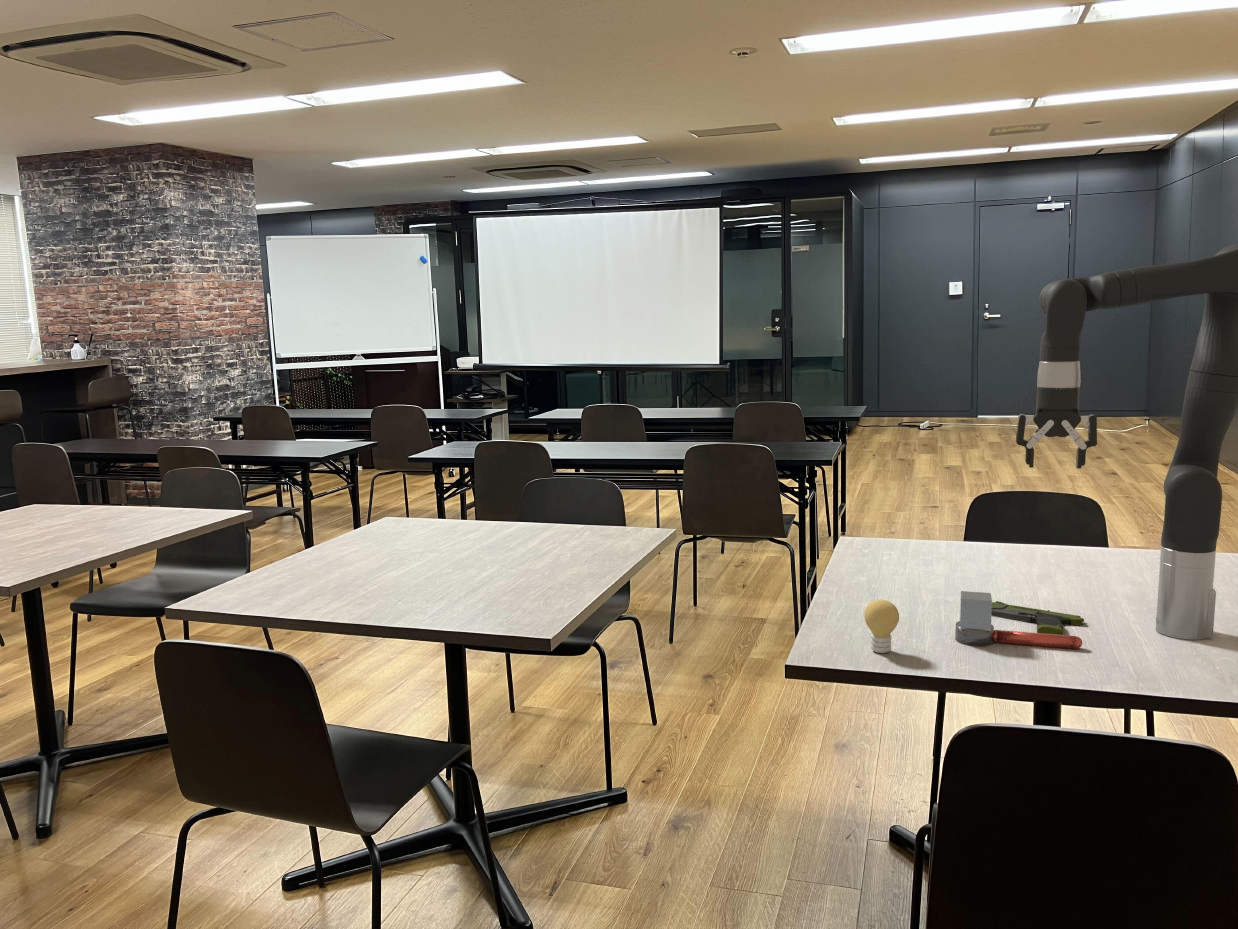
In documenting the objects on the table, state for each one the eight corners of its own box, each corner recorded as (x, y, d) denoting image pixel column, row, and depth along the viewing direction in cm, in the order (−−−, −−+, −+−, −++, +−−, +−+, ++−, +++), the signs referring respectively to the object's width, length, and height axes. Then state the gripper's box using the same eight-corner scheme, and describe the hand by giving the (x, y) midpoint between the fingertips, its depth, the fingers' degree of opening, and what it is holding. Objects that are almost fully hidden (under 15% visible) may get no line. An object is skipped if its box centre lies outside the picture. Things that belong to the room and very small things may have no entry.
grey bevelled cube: (989, 622, 187) (990, 593, 186) (990, 631, 182) (992, 600, 181) (959, 620, 189) (960, 591, 188) (960, 628, 184) (961, 598, 183)
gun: (966, 625, 197) (992, 609, 208) (1063, 642, 185) (1086, 624, 196) (967, 613, 197) (993, 598, 208) (1064, 630, 184) (1086, 612, 196)
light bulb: (892, 645, 184) (893, 595, 183) (903, 656, 178) (904, 605, 177) (859, 646, 184) (860, 596, 183) (869, 657, 178) (870, 606, 176)
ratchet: (1079, 643, 183) (1081, 605, 182) (1084, 655, 177) (1086, 616, 175) (955, 633, 190) (956, 597, 189) (955, 644, 184) (956, 607, 183)
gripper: (1096, 383, 185) (1091, 465, 187) (1017, 383, 189) (1013, 463, 192) (1102, 386, 178) (1097, 471, 180) (1020, 386, 182) (1016, 469, 185)
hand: (1054, 467), depth 186 cm, fingers open, 8 cm apart
